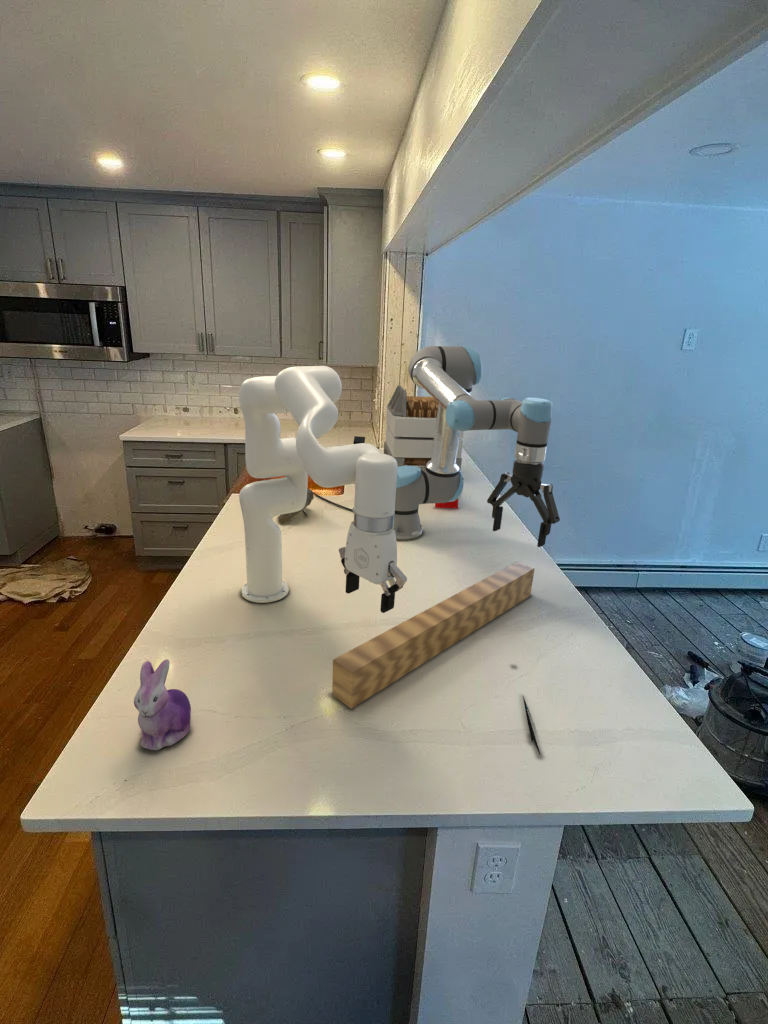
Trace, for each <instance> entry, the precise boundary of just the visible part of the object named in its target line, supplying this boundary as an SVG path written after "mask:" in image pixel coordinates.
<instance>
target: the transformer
mask: <svg viewBox="0 0 768 1024" xmlns="http://www.w3.org/2000/svg"><path fill="white" fill-rule="evenodd" d="M407 394H408V393H407V390H406V389H404V388H403V387H402V385H399V384H398V385H397V386H396V388H395V390H394V392H393V394H392V395H391V398H390V400H389V402H388V404H387V405H386V413H385V414H386V415H385V423H386V428H385V438H384V442H383V454H386V455H390V456H392V457H393V458H395V460H396V461H397V464H398V467H400V466H416V467H426V463H427V462H428V461H430V460H431V456H432V449H433V442H434V434H435V427H436V419H437V412H438V404H439V403H438V402H437V401H436V400H435V399H434V398H433V397H432V396H415V395H414V396H413V395H412V396H411V395H407ZM464 432H465V431H461V432H460V439H459V445H458V451H457V458H456V464H457V465H458V467H459V470H460V471H461V472H462V461H463V460H462V453H463V442H464V441H463V440H462V439H463V438H464Z"/></svg>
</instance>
